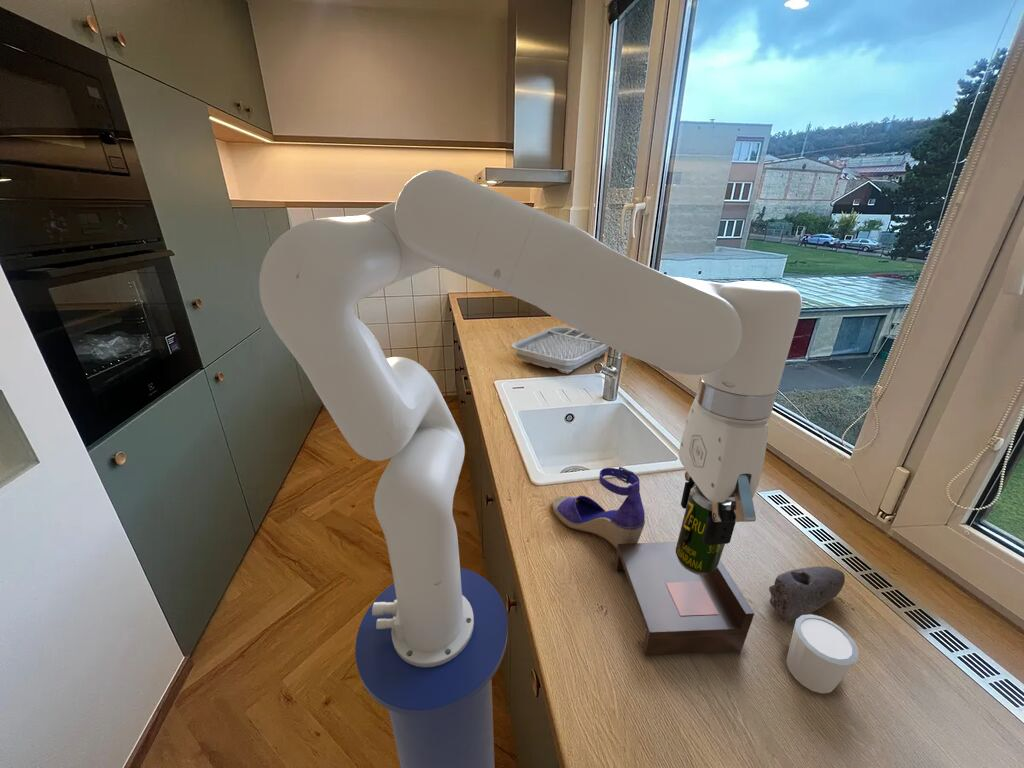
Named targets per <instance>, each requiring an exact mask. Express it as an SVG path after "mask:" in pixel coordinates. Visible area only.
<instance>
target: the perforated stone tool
mask: <svg viewBox="0 0 1024 768" xmlns="http://www.w3.org/2000/svg"><path fill="white" fill-rule="evenodd" d="M845 580H846V577H845V573H844V572H843V571H842V570H840V569H839V568H835V567H831V566H820V565H819V566H809V567H801V568H800V567H799V568H796V569H791V570H788V571H786V572H785V571H784V572H782V573H780V574H778V575H777V576H776V578H775V580H774V584H772V585H771V586H769V587H768V591H769V593H770V598H769V603H770V605H771V606H772V608H773V609H774V611H775V612H776V614H777V616H778V618H779V619H780V620H782V621H783V622H790V621H794V620H796V619H797V618H799V617H800V616H801V615H808V614H812V613H814V612H815V611H817V610H818V609H821V608H822V607H824V606H825V605H826V604H828V603H830V602H831V601H832V600H833V599H834V598H835V597H837V596H838V595H839V593H840V592H841V591H842V589H843V587H844V584H845Z"/></svg>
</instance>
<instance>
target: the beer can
mask: <svg viewBox="0 0 1024 768" xmlns="http://www.w3.org/2000/svg"><path fill="white" fill-rule="evenodd" d="M725 510H731V502H723V503H722V511H725ZM709 515H712V502H711V501H710V500H709V499H707V498H706V497H705V495H704V494H703V493H702V492H701V490H700V489H699V488H698V486H697V485H696V483H694V486H693V487H692V488H691V490H690V494H689V498H688V502H687V506H686V509H685V511H684V514H683V517H682V522H681V526H680V530H679V534H678V537H677V541H676V542H677V545H676V555H677V558H678V561H679V562H680V564H681V565H682V566H683V567H684V568H685V569H687V570H689V571H690V572H692V573H695V574H700V575H706V574H709V573H711V572H712V571H714V570H715V569H716V568H717V566H718V564H719V561H720V560H721V559H722V554H723V552H724V549H725V545H726V544H704V542H703V540H702V537H703V533H704V529H705V525H706V521H707V517H708V516H709Z"/></svg>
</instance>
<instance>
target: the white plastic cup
mask: <svg viewBox="0 0 1024 768" xmlns="http://www.w3.org/2000/svg"><path fill="white" fill-rule="evenodd" d="M788 647H789V648H788V652H787V656H786V665H787V668H788V671H789V672H790V673H791V675H792V676H793V678H794V679H795V680H796V681H797V682H799V684H800V685H802V686H803V687H805V688H807V690H810V691H811V692H814V693H818V694H821V695H822V694H831V693H832V692H833V691H834V690H835V688H836V687H837V686H838V685H839V684H840V683H841V681H842V680H843V679H844V677H845V676H846V675H847V674H848V672H849V671H850V670H851V669H852V667H853V666H854V665H855V664H856V662H858V660H859V649H858V646H857V644H856V642H855V640H854V639H853V638H852V637H851V636H850V635H849V633H848V632H847V631H846V630H844V629H843V628H842V627H840V626H839V625H838V624H837V623H835V622H834V621H831V620H829V619H828V618H825V617H823V616H820V615H817V614H812V613H810V614H808V615H801V616H800V617H799V618H797V619H795V622H794V627H793V631H792V636H791V639H790V643H789V646H788Z"/></svg>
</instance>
